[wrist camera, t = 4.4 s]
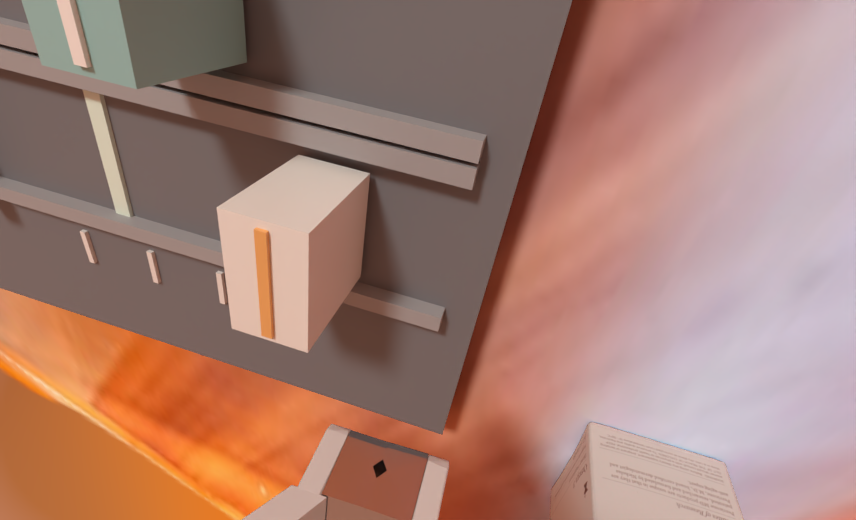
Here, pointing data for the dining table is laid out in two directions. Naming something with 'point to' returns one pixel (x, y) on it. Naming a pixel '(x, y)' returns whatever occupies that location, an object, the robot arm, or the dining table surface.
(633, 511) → the supplement box
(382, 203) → the console
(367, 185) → the fader
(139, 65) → the fader
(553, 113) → the dining table surface
